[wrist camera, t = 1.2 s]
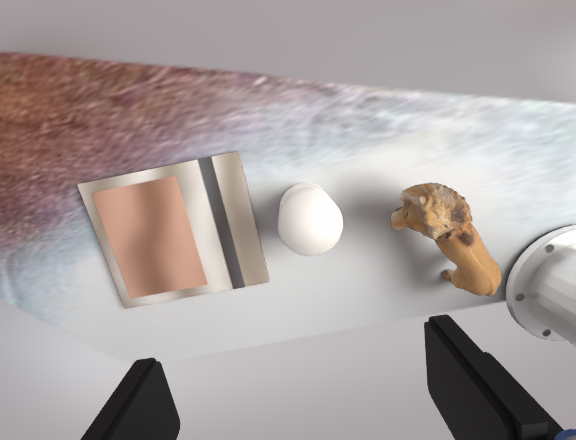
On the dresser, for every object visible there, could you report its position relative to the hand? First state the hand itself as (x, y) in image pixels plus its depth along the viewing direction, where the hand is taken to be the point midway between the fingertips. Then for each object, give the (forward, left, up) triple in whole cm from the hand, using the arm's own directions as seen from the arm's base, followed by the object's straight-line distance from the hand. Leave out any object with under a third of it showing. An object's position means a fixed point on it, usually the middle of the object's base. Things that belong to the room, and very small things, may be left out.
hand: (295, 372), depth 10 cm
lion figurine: (-13, +3, -19) cm, 24 cm away
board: (+11, -1, -19) cm, 22 cm away
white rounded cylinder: (-2, -1, -19) cm, 19 cm away
